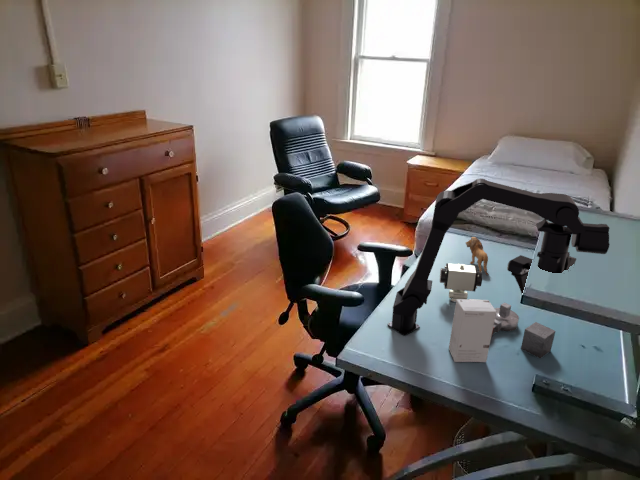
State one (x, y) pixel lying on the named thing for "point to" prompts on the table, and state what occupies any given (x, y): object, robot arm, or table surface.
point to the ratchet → (505, 319)
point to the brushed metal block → (538, 340)
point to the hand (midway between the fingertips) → (542, 305)
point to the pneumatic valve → (460, 280)
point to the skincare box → (471, 330)
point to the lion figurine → (478, 253)
